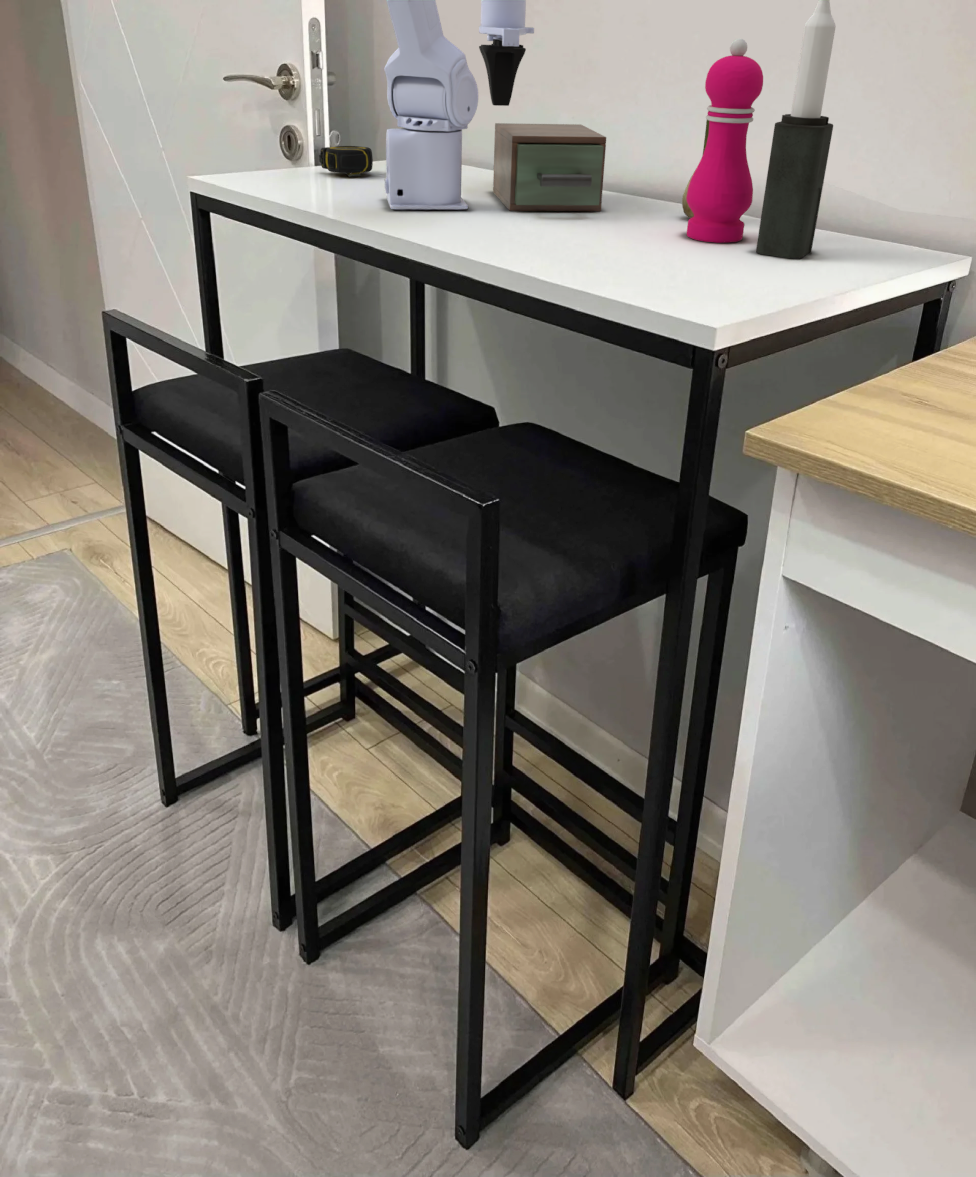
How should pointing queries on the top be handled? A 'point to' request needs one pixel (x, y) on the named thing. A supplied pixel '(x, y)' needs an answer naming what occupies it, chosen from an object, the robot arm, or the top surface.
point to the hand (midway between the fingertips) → (500, 105)
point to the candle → (800, 150)
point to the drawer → (558, 174)
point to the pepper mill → (725, 150)
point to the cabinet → (536, 133)
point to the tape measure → (346, 159)
